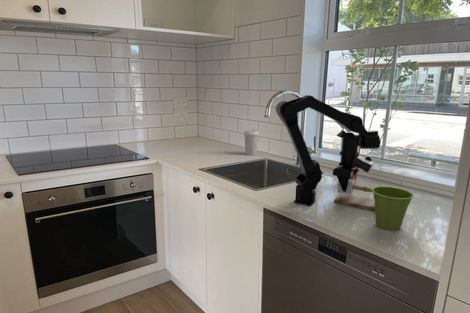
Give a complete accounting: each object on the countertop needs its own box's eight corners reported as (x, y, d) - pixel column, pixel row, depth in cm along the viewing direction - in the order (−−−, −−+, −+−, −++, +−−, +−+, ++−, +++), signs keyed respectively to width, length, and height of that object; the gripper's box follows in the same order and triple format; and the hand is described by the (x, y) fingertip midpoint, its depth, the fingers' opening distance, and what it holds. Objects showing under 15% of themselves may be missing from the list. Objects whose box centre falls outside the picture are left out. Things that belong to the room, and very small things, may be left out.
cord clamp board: (333, 202, 125) (335, 183, 123) (340, 196, 132) (341, 177, 130) (385, 212, 115) (388, 192, 114) (389, 205, 123) (391, 185, 121)
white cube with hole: (337, 192, 125) (338, 180, 124) (341, 189, 129) (341, 177, 128) (351, 194, 123) (352, 182, 122) (354, 191, 127) (355, 179, 126)
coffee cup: (258, 156, 203) (259, 131, 200) (243, 155, 203) (243, 131, 200) (258, 152, 212) (258, 129, 209) (243, 152, 212) (243, 129, 209)
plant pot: (396, 237, 97) (401, 201, 94) (360, 223, 106) (364, 190, 104) (416, 227, 104) (421, 193, 101) (381, 215, 113) (384, 183, 111)
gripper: (367, 156, 110) (363, 200, 114) (377, 147, 126) (373, 187, 129) (334, 152, 116) (330, 194, 120) (347, 144, 132) (344, 182, 135)
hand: (346, 189), depth 126 cm, fingers closed on white cube with hole, 5 cm apart
